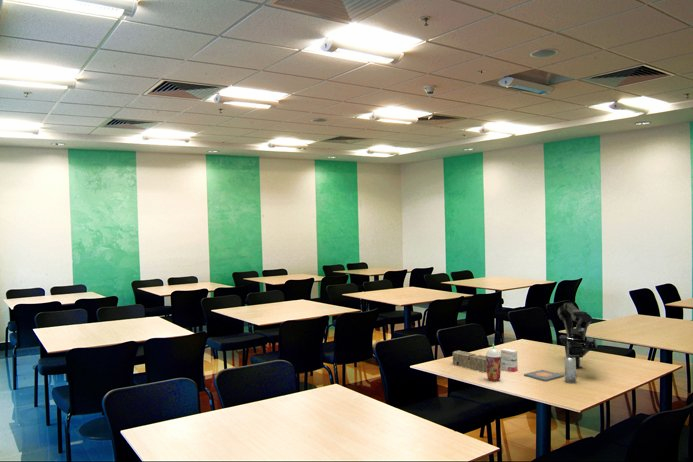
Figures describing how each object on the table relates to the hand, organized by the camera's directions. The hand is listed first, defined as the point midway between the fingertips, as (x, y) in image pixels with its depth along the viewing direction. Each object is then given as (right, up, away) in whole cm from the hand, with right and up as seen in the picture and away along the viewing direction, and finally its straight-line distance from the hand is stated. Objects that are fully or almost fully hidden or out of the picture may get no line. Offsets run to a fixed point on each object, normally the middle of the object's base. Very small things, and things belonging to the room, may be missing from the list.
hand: (574, 354), depth 289 cm
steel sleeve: (-5, -13, -6) cm, 16 cm away
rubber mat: (-15, -14, +5) cm, 21 cm away
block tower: (-49, -15, +26) cm, 58 cm away
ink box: (-30, -14, +19) cm, 38 cm away
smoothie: (-45, -14, 0) cm, 47 cm away
